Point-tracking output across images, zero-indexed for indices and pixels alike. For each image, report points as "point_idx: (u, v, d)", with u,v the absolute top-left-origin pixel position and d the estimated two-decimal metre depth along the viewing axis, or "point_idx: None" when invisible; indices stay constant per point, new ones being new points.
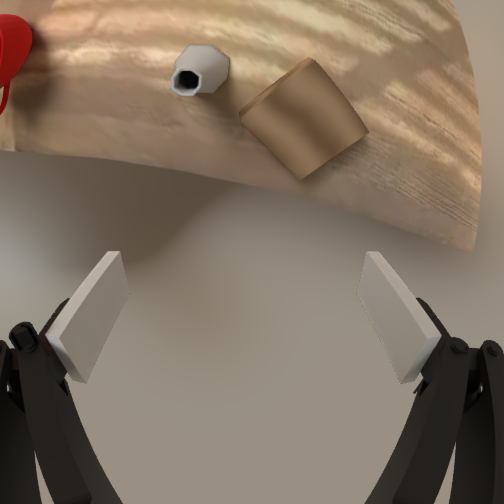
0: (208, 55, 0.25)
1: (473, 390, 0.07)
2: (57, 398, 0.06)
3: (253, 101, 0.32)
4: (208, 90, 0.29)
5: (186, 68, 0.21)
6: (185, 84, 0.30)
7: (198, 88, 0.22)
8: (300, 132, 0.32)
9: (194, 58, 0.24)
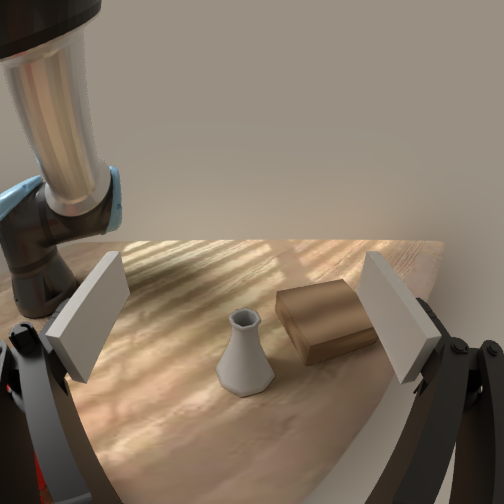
0: None
1: (473, 390, 0.07)
2: (57, 398, 0.06)
3: (299, 349, 0.36)
4: (268, 362, 0.31)
5: (233, 313, 0.29)
6: None
7: (256, 313, 0.29)
8: (335, 312, 0.37)
9: None
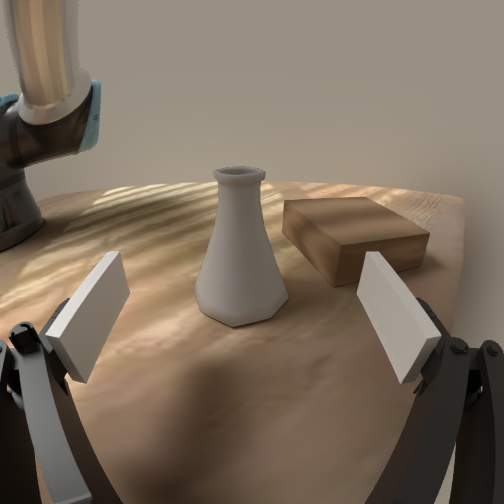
0: None
1: (473, 390, 0.07)
2: (57, 398, 0.06)
3: (321, 265, 0.25)
4: (278, 269, 0.20)
5: (221, 169, 0.18)
6: None
7: (257, 169, 0.18)
8: (365, 219, 0.27)
9: None
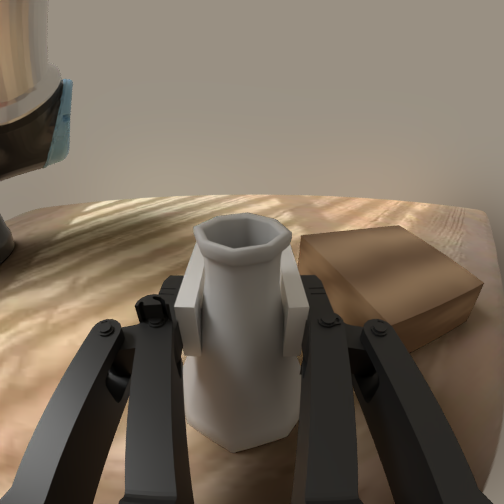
0: None
1: (371, 373, 0.09)
2: (173, 383, 0.07)
3: None
4: (300, 368, 0.13)
5: (208, 221, 0.10)
6: None
7: (275, 222, 0.10)
8: (410, 267, 0.19)
9: None
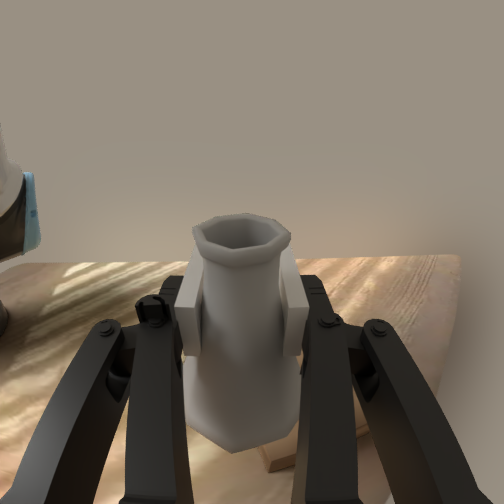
0: None
1: (371, 373, 0.09)
2: (173, 383, 0.07)
3: (259, 449, 0.20)
4: (300, 369, 0.12)
5: (207, 221, 0.10)
6: None
7: (274, 222, 0.10)
8: None
9: None
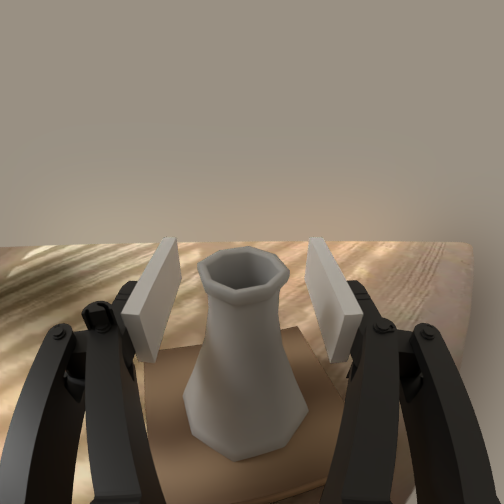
0: None
1: (415, 376, 0.09)
2: (125, 385, 0.07)
3: None
4: (297, 386, 0.13)
5: (211, 256, 0.11)
6: None
7: (275, 258, 0.11)
8: None
9: None
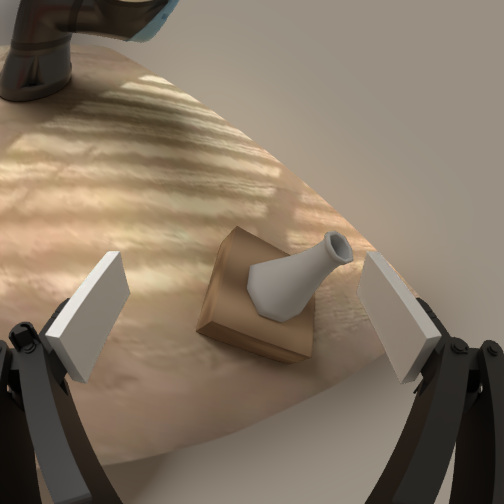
0: None
1: (473, 390, 0.07)
2: (57, 398, 0.06)
3: (204, 308, 0.28)
4: (308, 299, 0.28)
5: (332, 232, 0.23)
6: None
7: (351, 250, 0.23)
8: None
9: None
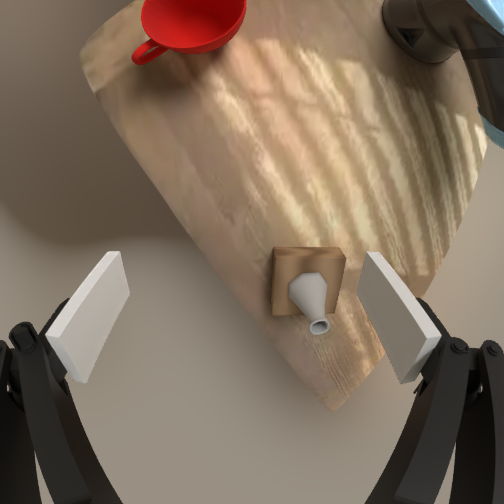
0: (325, 296, 0.44)
1: (473, 390, 0.07)
2: (57, 398, 0.06)
3: (288, 249, 0.47)
4: None
5: (327, 322, 0.38)
6: None
7: (320, 334, 0.39)
8: None
9: (322, 299, 0.42)
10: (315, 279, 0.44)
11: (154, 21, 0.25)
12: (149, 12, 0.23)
